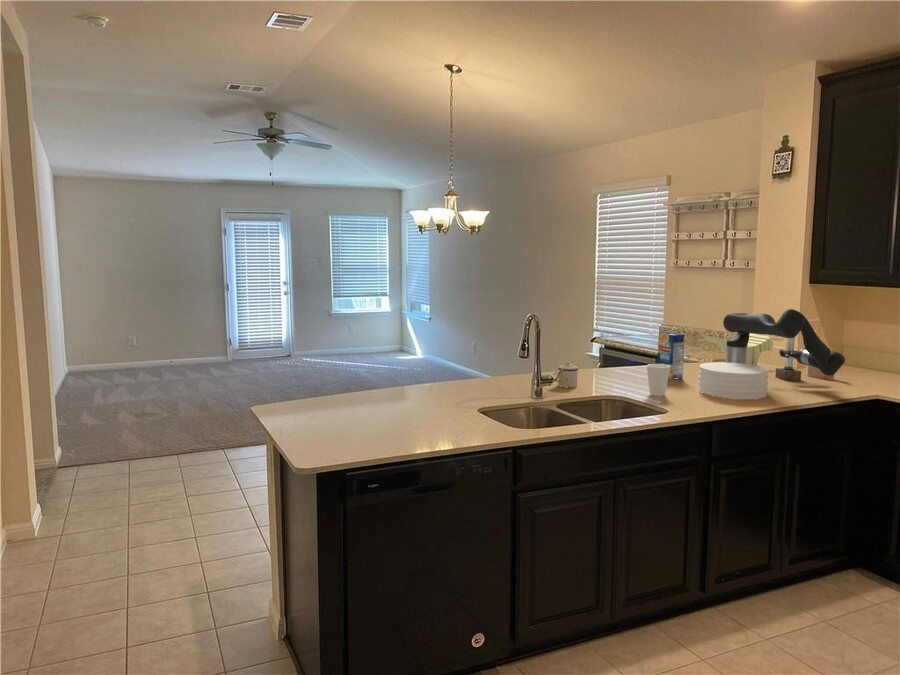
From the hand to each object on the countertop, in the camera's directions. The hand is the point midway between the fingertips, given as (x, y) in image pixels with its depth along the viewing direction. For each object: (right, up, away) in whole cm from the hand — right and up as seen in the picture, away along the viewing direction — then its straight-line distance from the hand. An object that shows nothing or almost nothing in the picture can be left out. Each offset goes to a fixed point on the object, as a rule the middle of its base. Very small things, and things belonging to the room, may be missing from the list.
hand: (789, 352), depth 306 cm
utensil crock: (+20, -14, +9) cm, 25 cm away
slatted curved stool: (-9, -10, +36) cm, 38 cm away
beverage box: (-54, -13, +12) cm, 57 cm away
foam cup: (-73, -18, -28) cm, 80 cm away
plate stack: (-38, -18, -23) cm, 48 cm away
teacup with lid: (-110, -16, -11) cm, 112 cm away
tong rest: (0, -14, +1) cm, 15 cm away
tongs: (0, -13, +1) cm, 13 cm away
